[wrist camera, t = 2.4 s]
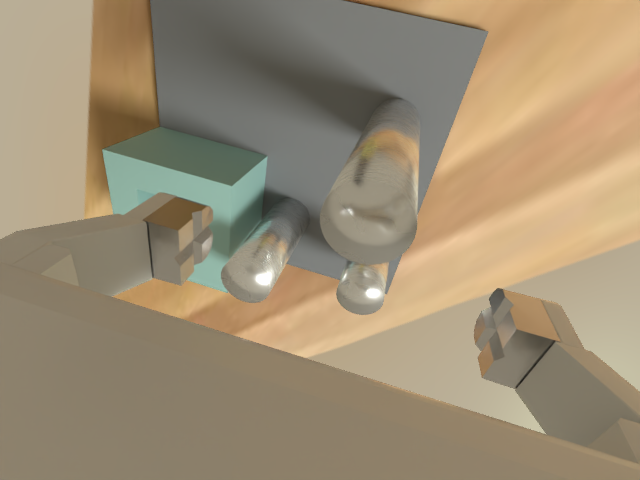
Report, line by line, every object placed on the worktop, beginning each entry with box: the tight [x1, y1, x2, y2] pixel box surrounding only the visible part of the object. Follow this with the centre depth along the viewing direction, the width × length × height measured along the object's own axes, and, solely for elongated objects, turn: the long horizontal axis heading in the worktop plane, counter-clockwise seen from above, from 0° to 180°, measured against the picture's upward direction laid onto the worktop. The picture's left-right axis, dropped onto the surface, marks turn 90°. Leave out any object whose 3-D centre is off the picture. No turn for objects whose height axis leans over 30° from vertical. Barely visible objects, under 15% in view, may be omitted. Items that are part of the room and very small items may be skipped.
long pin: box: [320, 98, 420, 265], centre depth 17 cm, size 3×3×14 cm
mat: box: [150, 0, 488, 294], centre depth 26 cm, size 21×20×1 cm
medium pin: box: [221, 198, 310, 303], centre depth 25 cm, size 3×3×9 cm
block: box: [102, 127, 268, 293], centre depth 27 cm, size 9×9×6 cm
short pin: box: [336, 259, 389, 315], centre depth 26 cm, size 3×3×6 cm
